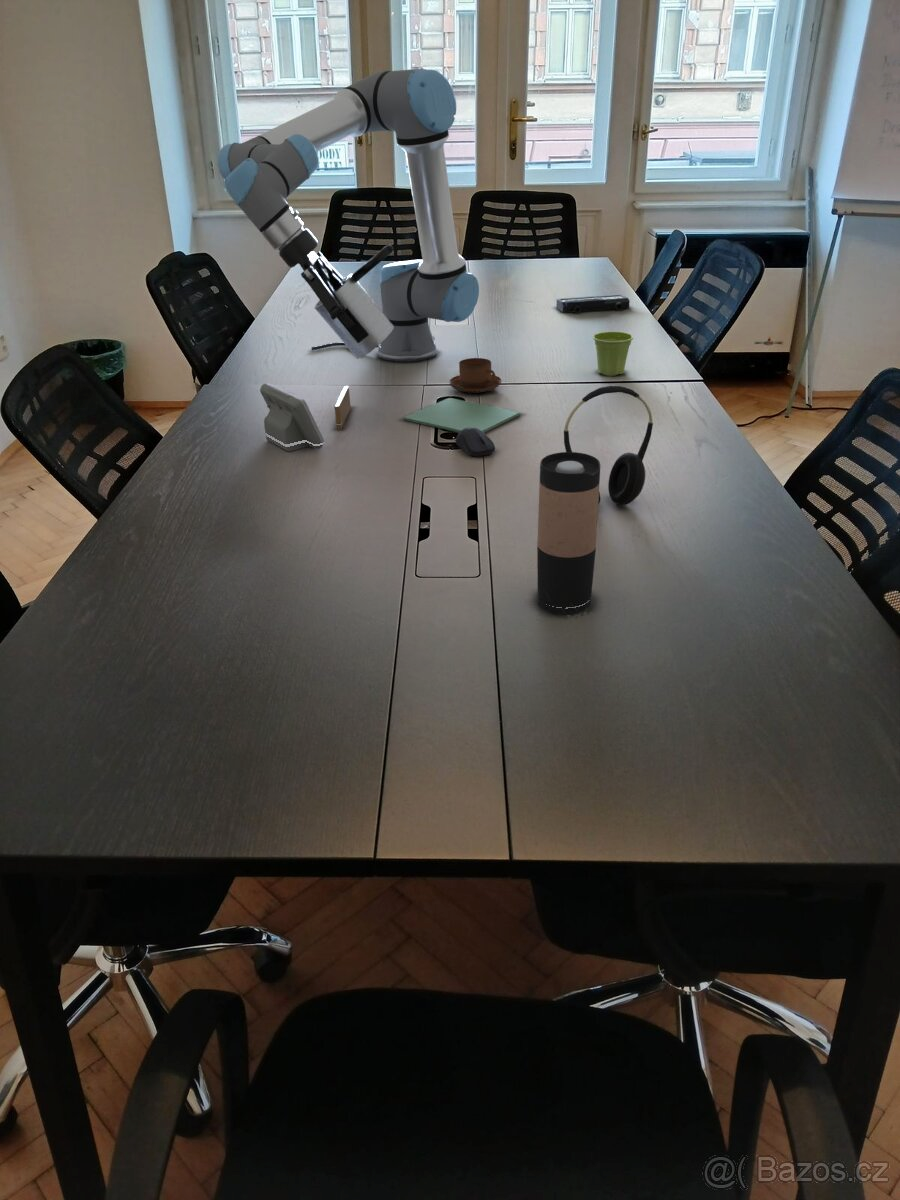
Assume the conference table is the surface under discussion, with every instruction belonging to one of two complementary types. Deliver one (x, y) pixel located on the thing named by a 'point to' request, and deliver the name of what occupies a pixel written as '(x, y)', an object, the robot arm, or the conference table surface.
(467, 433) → the computer mouse
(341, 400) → the wooden block
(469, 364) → the cup and saucer
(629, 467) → the headphones
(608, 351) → the plant pot
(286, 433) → the digital clock
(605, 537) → the conference table surface
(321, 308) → the pot
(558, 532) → the travel mug
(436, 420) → the mat
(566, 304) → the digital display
